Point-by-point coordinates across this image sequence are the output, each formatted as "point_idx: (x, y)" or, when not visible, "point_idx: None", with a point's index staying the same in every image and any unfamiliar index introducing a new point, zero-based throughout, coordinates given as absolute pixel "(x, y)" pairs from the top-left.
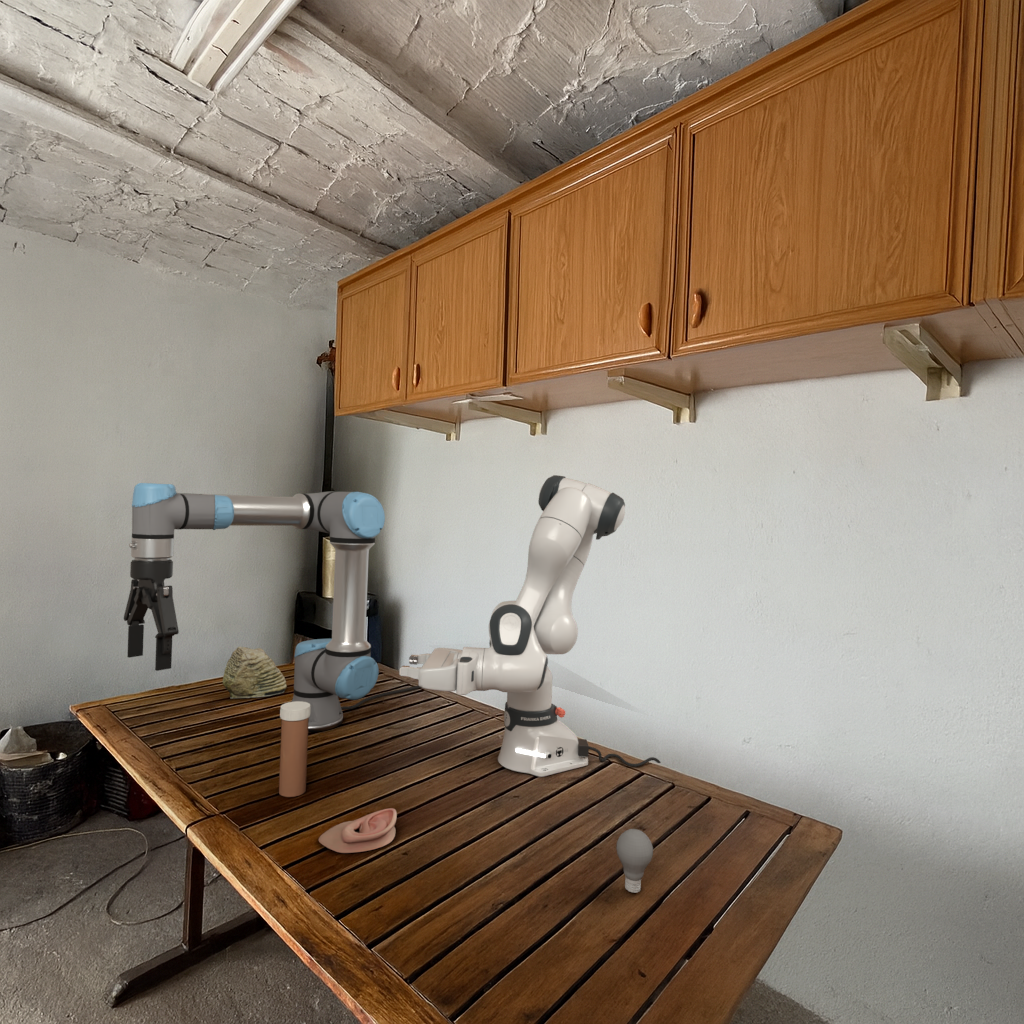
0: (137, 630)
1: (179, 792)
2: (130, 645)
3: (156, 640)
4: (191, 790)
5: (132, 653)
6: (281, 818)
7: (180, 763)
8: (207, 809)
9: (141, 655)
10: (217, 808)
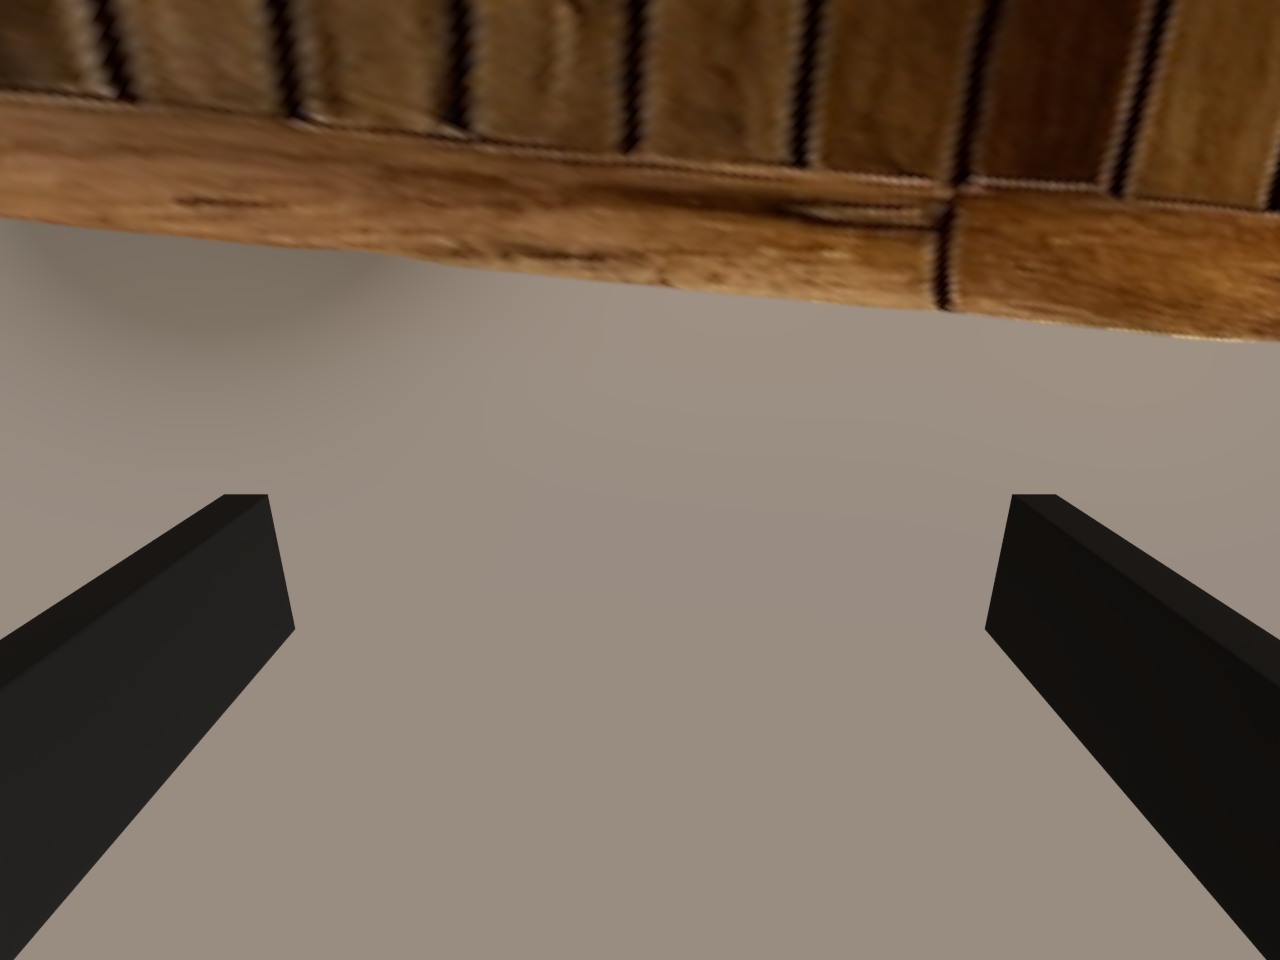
0: (16, 797)
1: (682, 218)
2: (216, 709)
3: (1255, 933)
4: (699, 175)
5: (268, 620)
6: (1190, 30)
7: (400, 80)
8: (891, 207)
9: (269, 509)
10: (914, 175)
